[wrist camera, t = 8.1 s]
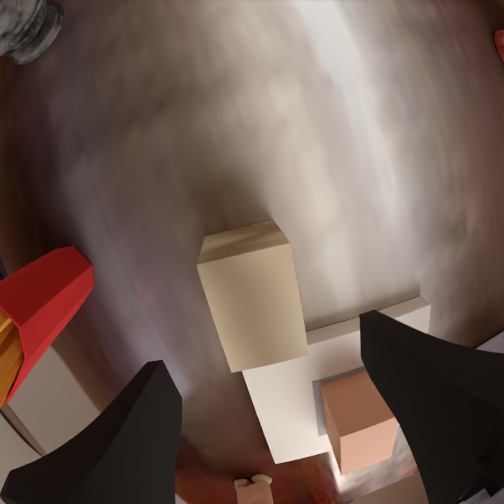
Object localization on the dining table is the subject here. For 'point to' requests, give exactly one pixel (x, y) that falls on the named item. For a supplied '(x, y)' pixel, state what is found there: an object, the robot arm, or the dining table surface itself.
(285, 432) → the tower plate
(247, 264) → the birch brick
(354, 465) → the terracotta brick
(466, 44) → the dining table surface
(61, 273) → the french fries
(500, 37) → the stacking bear
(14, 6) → the grey stone statuette
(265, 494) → the grandmother figurine
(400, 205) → the dining table surface
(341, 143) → the dining table surface
